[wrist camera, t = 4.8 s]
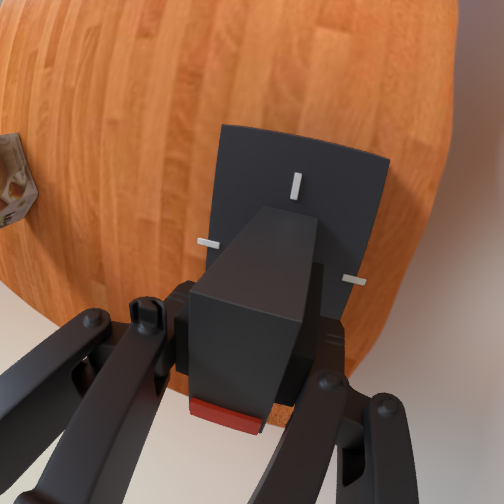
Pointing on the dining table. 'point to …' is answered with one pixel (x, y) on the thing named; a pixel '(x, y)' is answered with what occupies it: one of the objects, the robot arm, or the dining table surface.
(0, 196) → the coffee box
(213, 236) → the panel
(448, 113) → the dining table surface
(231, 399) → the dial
